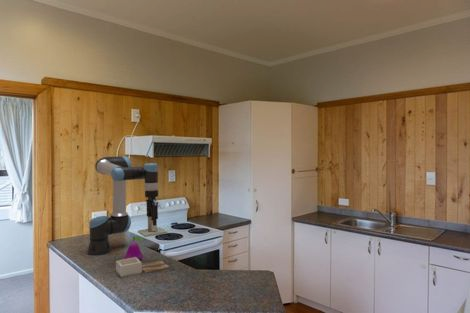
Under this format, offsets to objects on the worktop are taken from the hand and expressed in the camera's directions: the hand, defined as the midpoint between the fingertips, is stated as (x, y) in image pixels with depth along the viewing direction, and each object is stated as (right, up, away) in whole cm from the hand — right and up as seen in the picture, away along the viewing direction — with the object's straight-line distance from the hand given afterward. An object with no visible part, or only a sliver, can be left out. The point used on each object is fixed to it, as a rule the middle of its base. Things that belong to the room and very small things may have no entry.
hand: (152, 229), depth 185 cm
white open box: (-11, -22, -8) cm, 26 cm away
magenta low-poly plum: (-15, -22, +13) cm, 29 cm away
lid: (0, -2, 0) cm, 2 cm away
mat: (0, -21, 0) cm, 22 cm away
